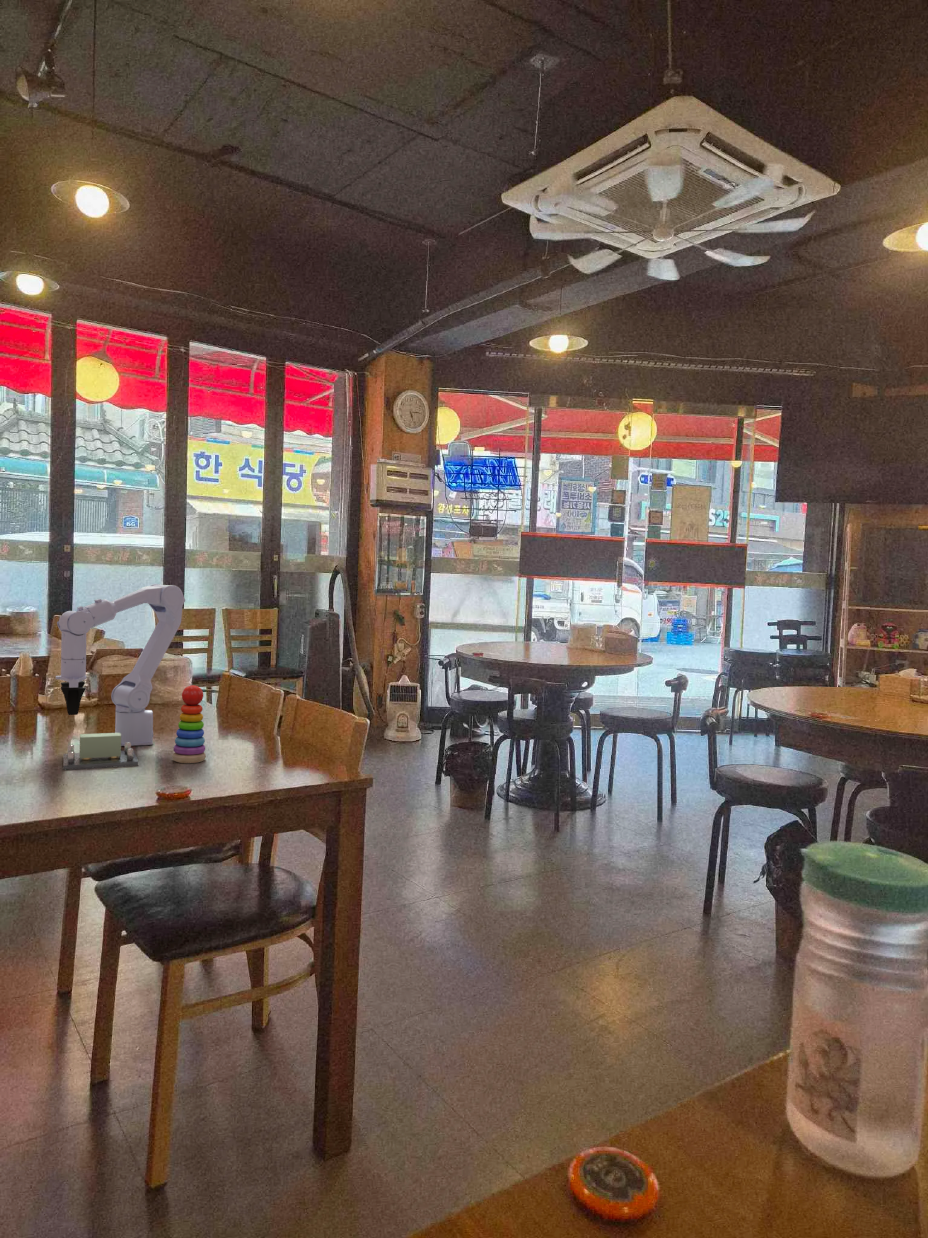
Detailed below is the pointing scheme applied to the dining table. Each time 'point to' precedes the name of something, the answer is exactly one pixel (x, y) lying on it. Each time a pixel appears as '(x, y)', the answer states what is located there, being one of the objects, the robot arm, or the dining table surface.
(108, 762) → the plate
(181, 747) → the stacking toy
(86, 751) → the block
